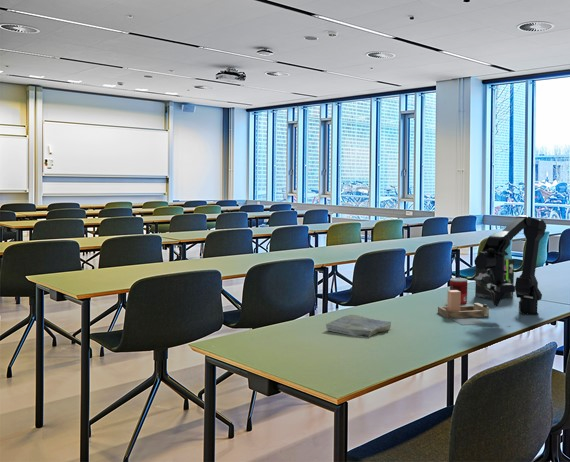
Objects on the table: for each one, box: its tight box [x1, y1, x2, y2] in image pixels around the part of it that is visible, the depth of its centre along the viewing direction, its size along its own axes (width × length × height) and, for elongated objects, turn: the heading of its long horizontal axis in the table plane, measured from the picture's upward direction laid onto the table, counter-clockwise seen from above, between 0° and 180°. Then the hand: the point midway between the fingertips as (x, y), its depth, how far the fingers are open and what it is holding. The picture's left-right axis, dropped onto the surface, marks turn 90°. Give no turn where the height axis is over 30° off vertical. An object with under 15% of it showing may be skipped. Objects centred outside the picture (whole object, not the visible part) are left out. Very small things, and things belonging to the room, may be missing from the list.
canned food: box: [449, 277, 468, 305], centre depth 273 cm, size 8×8×11 cm
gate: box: [473, 302, 490, 317], centre depth 249 cm, size 2×9×4 cm, turn 8°
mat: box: [451, 317, 487, 326], centre depth 236 cm, size 10×10×1 cm
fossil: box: [325, 314, 392, 339], centre depth 226 cm, size 20×5×17 cm
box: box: [474, 257, 515, 301], centre depth 286 cm, size 14×12×19 cm
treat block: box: [446, 289, 462, 311], centre depth 247 cm, size 4×4×10 cm
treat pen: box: [437, 304, 485, 319], centre depth 253 cm, size 17×22×3 cm
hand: (495, 306), depth 239 cm, fingers closed
